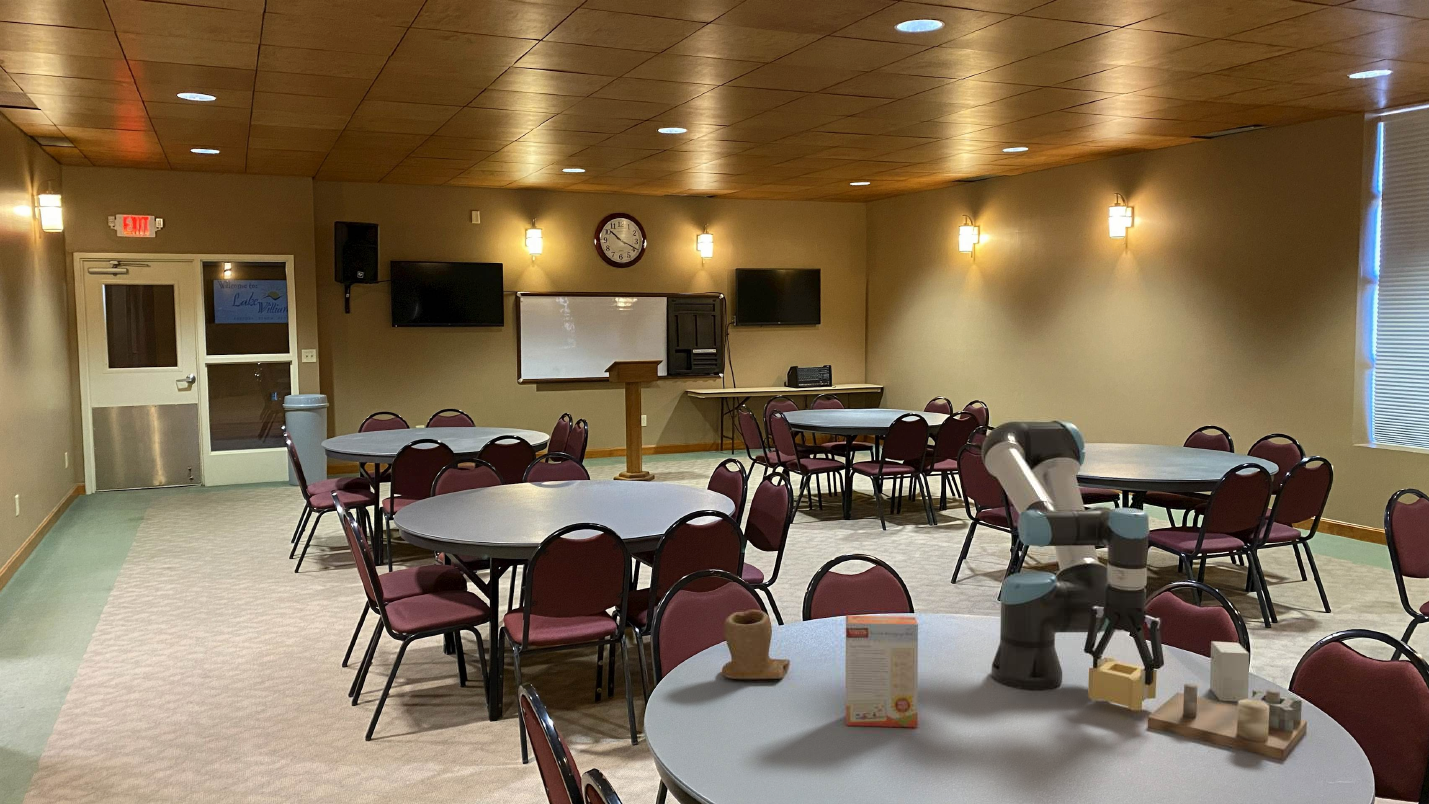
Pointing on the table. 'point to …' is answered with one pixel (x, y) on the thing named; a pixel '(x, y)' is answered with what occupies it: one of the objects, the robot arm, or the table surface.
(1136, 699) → the tan notched block
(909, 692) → the cracker box
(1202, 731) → the board
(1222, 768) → the table surface
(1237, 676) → the small box
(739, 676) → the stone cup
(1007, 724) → the table surface
